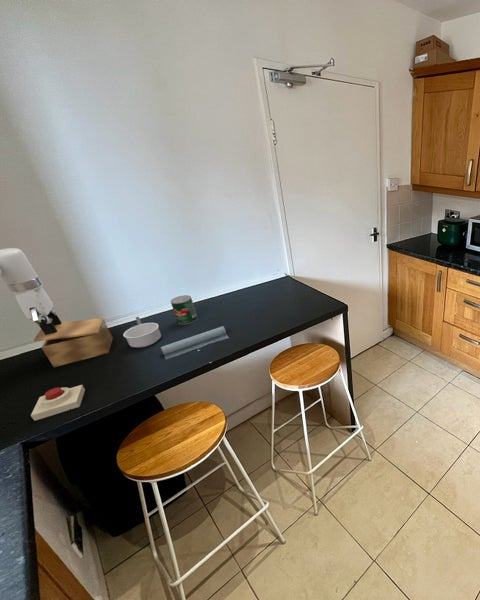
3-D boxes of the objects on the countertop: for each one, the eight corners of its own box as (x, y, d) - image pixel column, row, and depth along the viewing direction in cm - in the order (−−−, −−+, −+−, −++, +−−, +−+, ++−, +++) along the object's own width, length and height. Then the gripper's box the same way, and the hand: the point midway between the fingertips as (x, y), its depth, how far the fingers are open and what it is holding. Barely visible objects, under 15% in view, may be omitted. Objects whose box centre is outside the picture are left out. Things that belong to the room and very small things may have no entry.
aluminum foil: (224, 331, 136) (222, 324, 134) (229, 337, 131) (227, 331, 130) (162, 353, 122) (159, 345, 120) (165, 360, 118) (162, 353, 116)
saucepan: (157, 323, 142) (153, 312, 139) (165, 341, 129) (160, 330, 126) (125, 332, 135) (120, 321, 132) (130, 353, 122) (124, 341, 119)
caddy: (53, 367, 114) (41, 347, 110) (62, 350, 124) (51, 331, 120) (108, 353, 122) (99, 334, 118) (112, 337, 131) (103, 319, 127)
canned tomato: (177, 326, 139) (169, 304, 134) (178, 318, 145) (171, 297, 140) (198, 322, 143) (190, 300, 138) (198, 314, 149) (191, 293, 144)
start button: (45, 401, 94) (42, 397, 94) (49, 394, 97) (46, 390, 96) (62, 397, 96) (59, 392, 95) (65, 390, 99) (62, 385, 98)
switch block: (34, 420, 92) (27, 411, 91) (43, 402, 99) (36, 392, 97) (79, 406, 97) (73, 397, 96) (85, 389, 104) (79, 380, 102)
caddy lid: (34, 341, 109) (30, 329, 107) (44, 325, 118) (41, 314, 116) (98, 334, 118) (95, 322, 116) (103, 319, 127) (101, 309, 125)
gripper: (18, 278, 111) (46, 321, 120) (-1, 297, 98) (32, 344, 107) (47, 274, 115) (72, 316, 123) (32, 291, 102) (61, 336, 110)
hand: (53, 328), depth 115 cm, fingers closed on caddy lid, 5 cm apart
